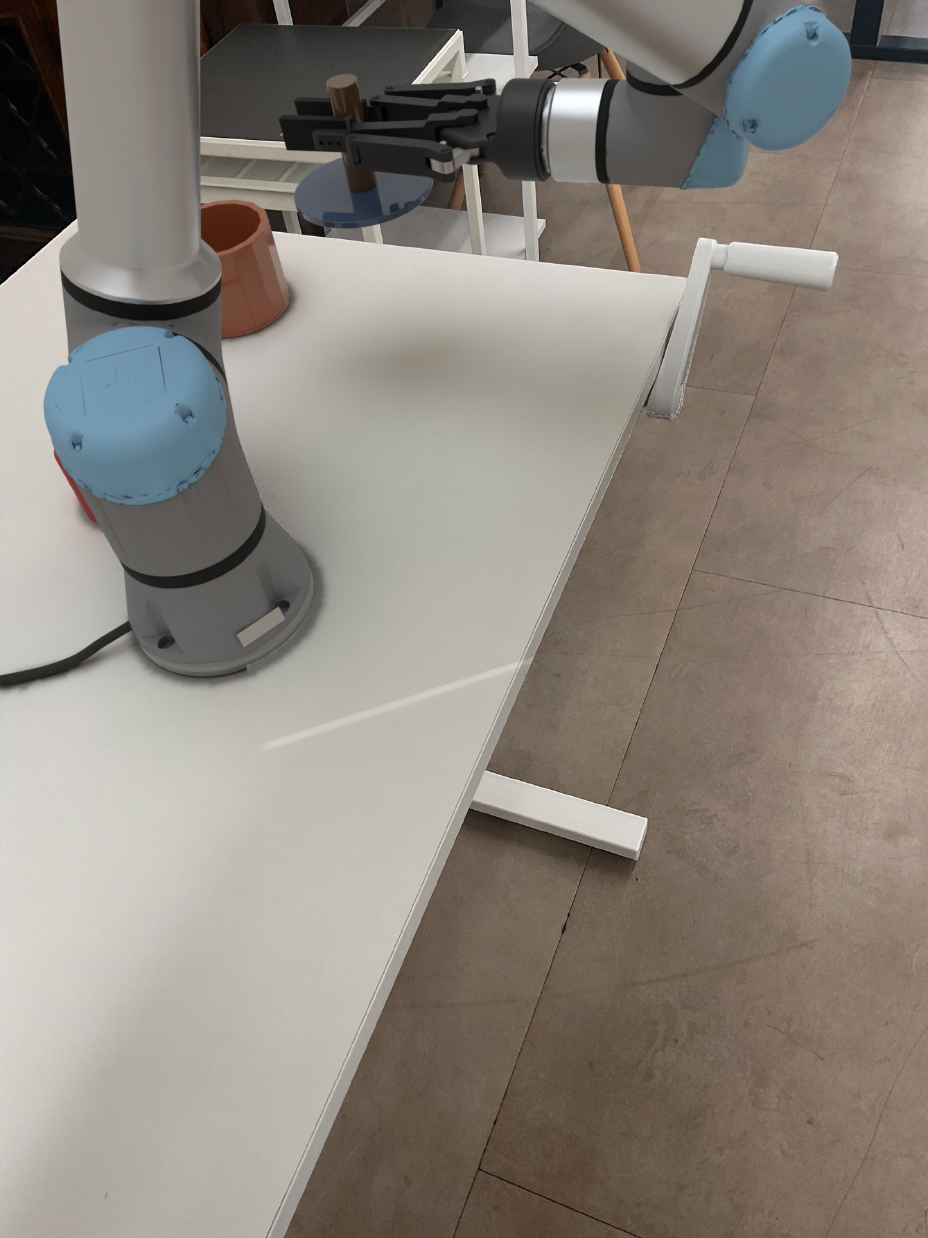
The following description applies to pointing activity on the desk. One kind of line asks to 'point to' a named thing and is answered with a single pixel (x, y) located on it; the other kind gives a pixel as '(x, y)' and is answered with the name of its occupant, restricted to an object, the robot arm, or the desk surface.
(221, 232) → the jar
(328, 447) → the desk surface
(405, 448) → the desk surface
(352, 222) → the lid
